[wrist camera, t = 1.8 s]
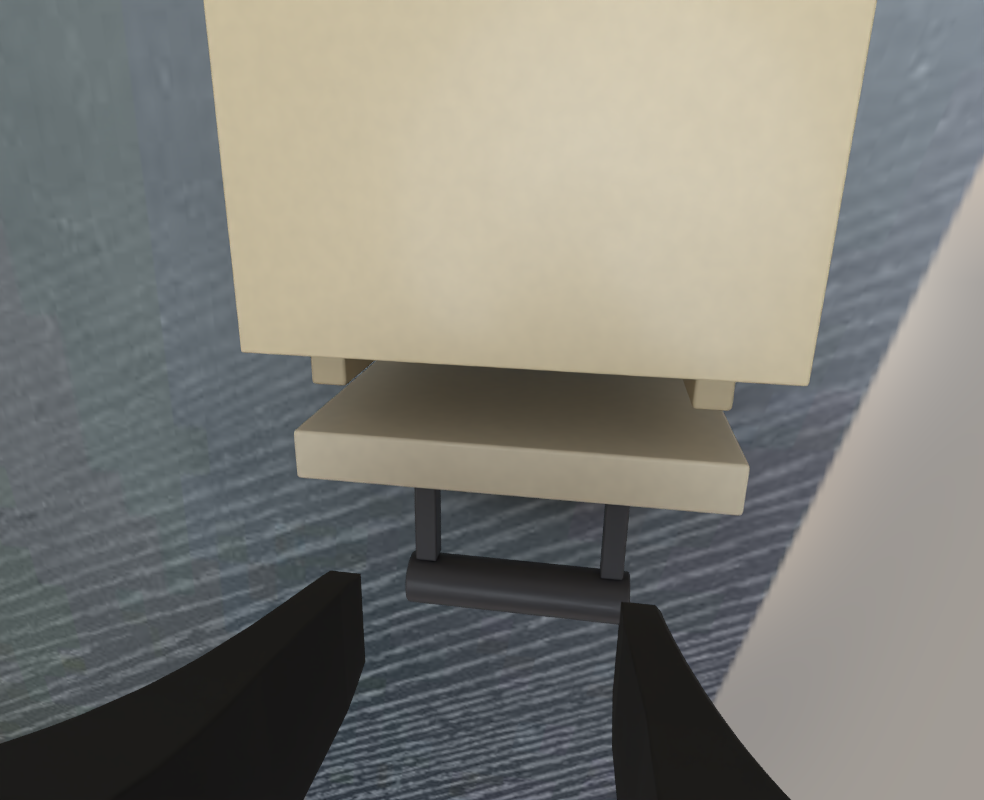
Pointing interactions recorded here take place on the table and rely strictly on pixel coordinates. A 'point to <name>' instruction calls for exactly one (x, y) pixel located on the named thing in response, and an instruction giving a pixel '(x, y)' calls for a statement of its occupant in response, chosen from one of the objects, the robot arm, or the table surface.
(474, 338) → the cabinet
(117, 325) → the table surface
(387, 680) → the table surface
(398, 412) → the drawer
